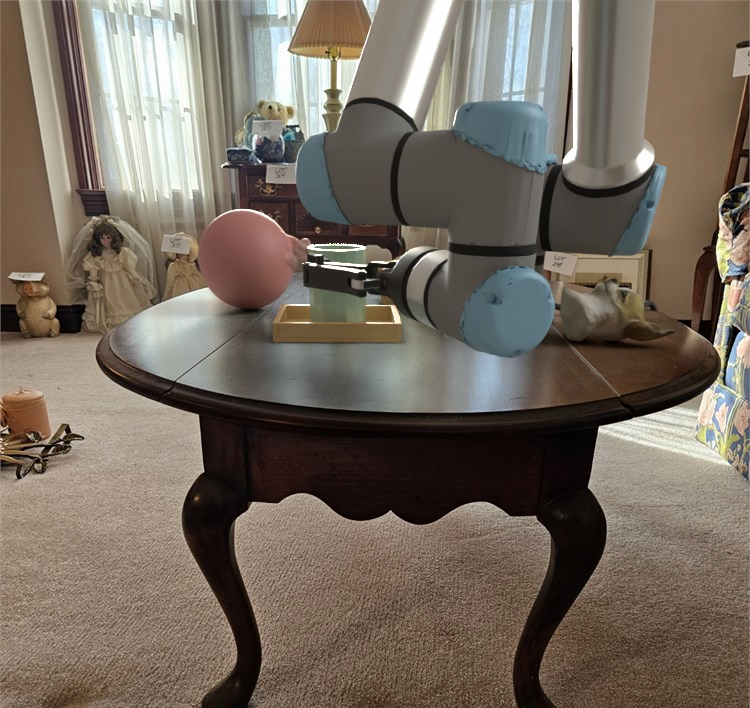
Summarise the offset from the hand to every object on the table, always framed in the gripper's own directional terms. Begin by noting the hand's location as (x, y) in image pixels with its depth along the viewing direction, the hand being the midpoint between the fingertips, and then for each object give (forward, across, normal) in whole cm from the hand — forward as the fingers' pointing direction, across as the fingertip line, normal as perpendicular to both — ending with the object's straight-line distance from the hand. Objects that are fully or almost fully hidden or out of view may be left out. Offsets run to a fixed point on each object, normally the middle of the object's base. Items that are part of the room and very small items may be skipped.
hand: (360, 262), depth 84 cm
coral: (+26, +18, -11) cm, 34 cm away
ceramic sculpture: (-10, +34, -11) cm, 37 cm away
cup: (+8, 0, -10) cm, 13 cm away
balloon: (+29, -6, -11) cm, 32 cm away
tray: (+9, 0, -11) cm, 14 cm away
